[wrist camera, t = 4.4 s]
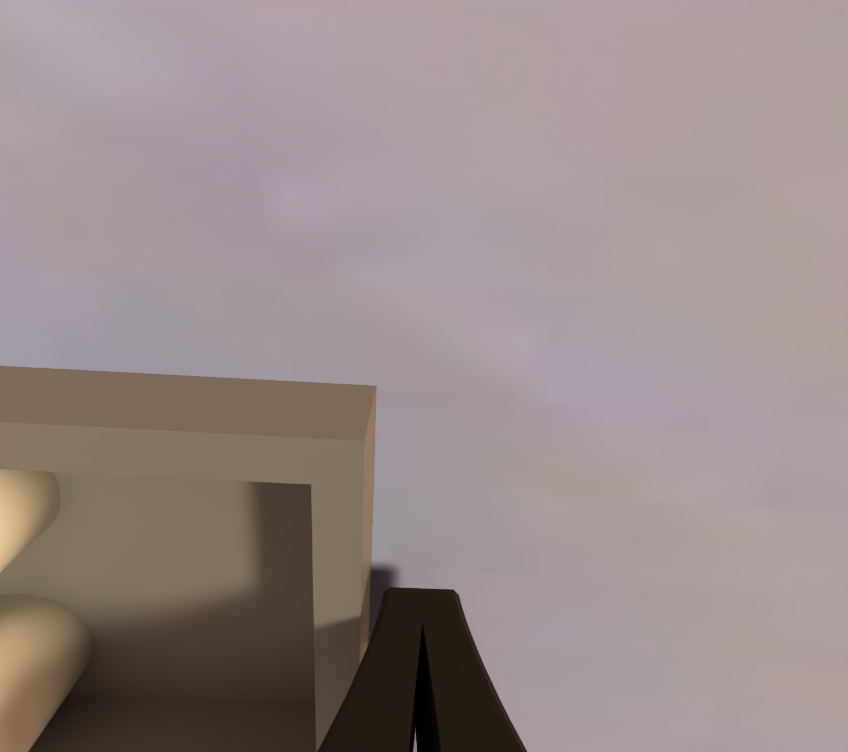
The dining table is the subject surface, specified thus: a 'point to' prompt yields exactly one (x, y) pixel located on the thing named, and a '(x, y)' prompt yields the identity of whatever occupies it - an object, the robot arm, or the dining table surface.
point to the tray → (180, 560)
